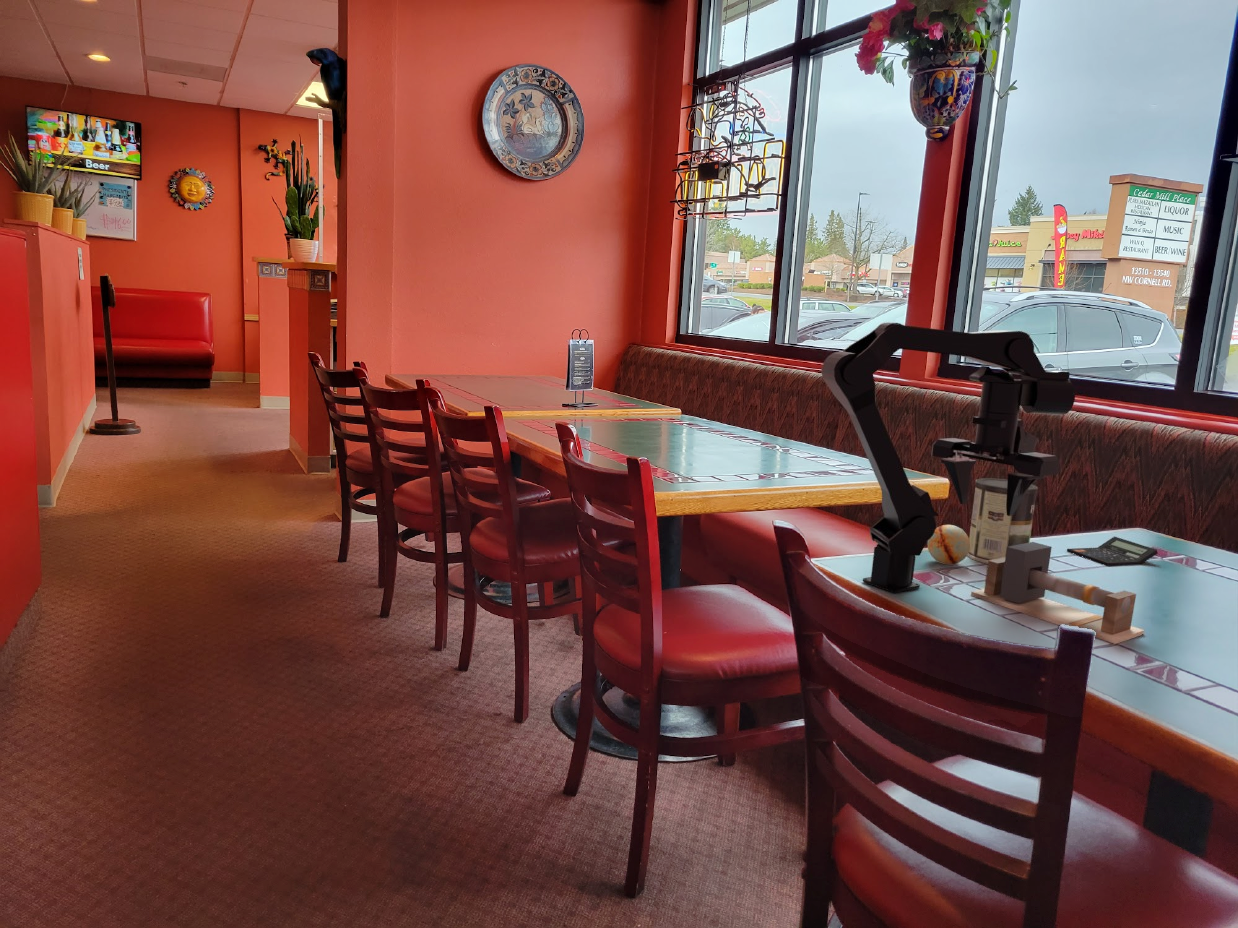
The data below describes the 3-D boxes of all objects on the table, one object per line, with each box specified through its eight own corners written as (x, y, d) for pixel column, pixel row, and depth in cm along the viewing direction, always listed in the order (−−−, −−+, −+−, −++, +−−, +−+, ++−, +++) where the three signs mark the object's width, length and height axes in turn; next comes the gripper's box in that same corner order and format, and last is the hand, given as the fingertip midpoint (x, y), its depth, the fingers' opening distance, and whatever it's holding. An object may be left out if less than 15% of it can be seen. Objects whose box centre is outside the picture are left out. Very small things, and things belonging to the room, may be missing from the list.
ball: (973, 564, 152) (978, 526, 151) (959, 572, 147) (964, 532, 146) (933, 555, 157) (938, 518, 155) (919, 563, 151) (923, 524, 150)
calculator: (1066, 553, 165) (1068, 537, 165) (1113, 551, 169) (1116, 536, 168) (1107, 567, 156) (1109, 551, 156) (1155, 565, 160) (1158, 549, 159)
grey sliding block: (1044, 596, 132) (1051, 546, 131) (1018, 603, 129) (1025, 551, 127) (1025, 591, 135) (1033, 541, 134) (1000, 597, 131) (1007, 546, 130)
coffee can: (1019, 554, 161) (1029, 480, 158) (1033, 569, 151) (1045, 491, 148) (961, 548, 163) (970, 475, 160) (971, 563, 153) (982, 486, 150)
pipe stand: (1143, 634, 121) (1150, 594, 120) (1115, 643, 117) (1121, 602, 116) (1000, 588, 139) (1005, 553, 138) (970, 595, 135) (975, 559, 134)
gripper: (1086, 418, 130) (1071, 518, 133) (976, 403, 145) (964, 494, 148) (1045, 420, 124) (1030, 525, 127) (935, 405, 139) (923, 499, 142)
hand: (985, 509), depth 136 cm, fingers open, 8 cm apart
